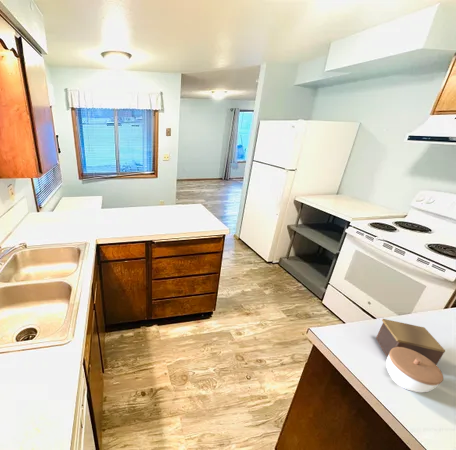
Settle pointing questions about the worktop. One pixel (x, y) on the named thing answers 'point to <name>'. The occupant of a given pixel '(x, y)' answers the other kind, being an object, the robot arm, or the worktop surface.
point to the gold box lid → (412, 335)
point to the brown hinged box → (404, 345)
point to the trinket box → (413, 370)
